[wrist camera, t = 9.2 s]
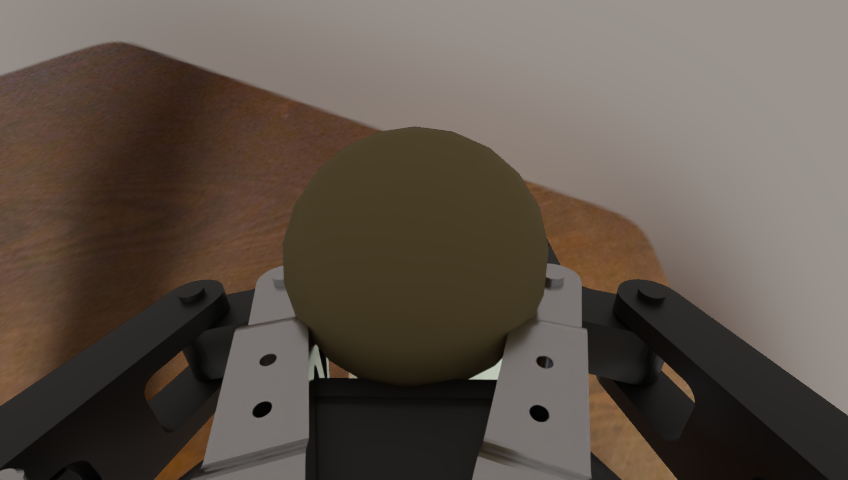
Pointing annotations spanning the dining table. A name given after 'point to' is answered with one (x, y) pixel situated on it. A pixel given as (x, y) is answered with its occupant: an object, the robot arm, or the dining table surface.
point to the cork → (415, 257)
